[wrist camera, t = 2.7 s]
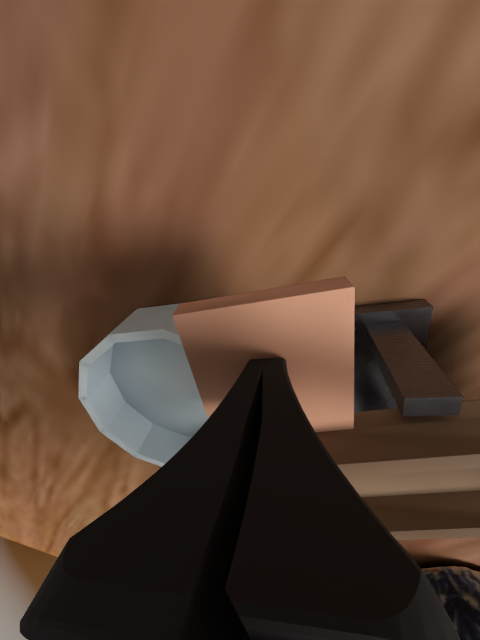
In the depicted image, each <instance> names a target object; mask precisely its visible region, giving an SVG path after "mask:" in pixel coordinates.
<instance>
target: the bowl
mask: <svg viewBox="0 0 480 640" xmlns="http://www.w3.org/2000/svg"><path fill="white" fill-rule="evenodd" d="M180 304H181V303H180ZM178 305H179V304H171V305H163V306H155V307H147V308H139V309H136V310H135V311H134V312H133V313H132V314H131V315H129V316H128V317H127V318H126V319H125V320H124V321H123V322H122V323H121V324H119V325H118V326H117V327H116V328H115V329H114V330H113V331H112V332H111V333H109V334H108V336H107V337H105V338H104V339H103V340H102V341H101V342H100V343H99V344H98V345H97V346H96V347H95V348H94V349H93V350H91V351H90V352H89V353H88V354H87V355H86V356H85V357H84V358H83V359H81V360H80V361H79V397H78V398H79V399H80V401H81V402H82V404H83V406H84V407H85V409H86V410H87V412H88V414H89V415H90V417H91V418H92V420H93V422H94V423H95V425H96V426H97V428H98V430H99V431H100V432H101V433H102V434H104V435H105V436H107V437H108V438H109V439H111V440H112V441H113V442H115V443H116V444H117V445H119V446H120V447H121V448H123V449H124V450H126V451H127V452H128V453H130V454H131V455H132V456H134V457H136V458H138V459H141V460H144V461H147V462H150V463H153V464H155V465H158V466H161V467H162V466H163V465H164V464H165V463H167V462H168V461H169V460H170V459H171V458H172V457H173V456H174V455H175V454H176V453H177V452H178V451H179V450H180V449H181V448H182V447H183V446H184V445H185V444H186V443H187V442H188V441H189V440H190V439H191V438H192V437H193V436H194V434H195V433H196V432H197V431H198V430H199V428H201V427H202V425H203V424H204V423H205V422H206V421H207V420H208V417H207V414H206V411H205V408H204V406H203V403H202V400H201V397H200V394H199V391H198V388H197V385H196V382H195V380H194V377H193V374H192V371H191V368H190V365H189V362H188V359H187V357H186V354H185V351H184V348H183V345H182V342H181V339H180V336H179V333H178V331H177V328H176V325H175V322H174V319H173V316H172V315H173V314H174V312H175V310H176V309H177V307H178Z"/></svg>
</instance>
